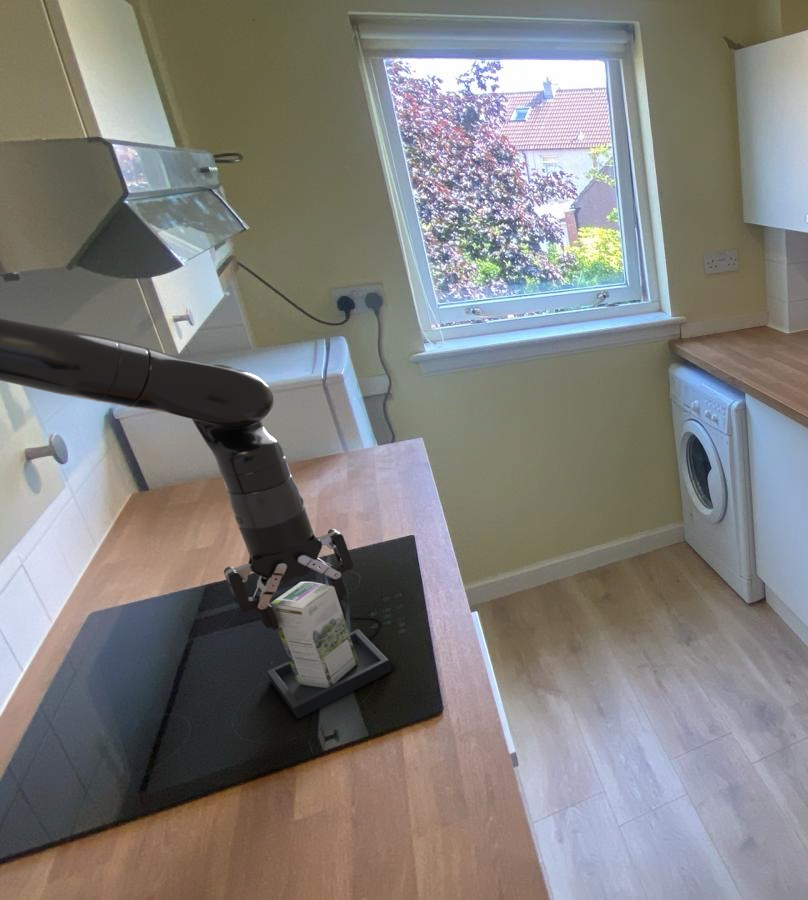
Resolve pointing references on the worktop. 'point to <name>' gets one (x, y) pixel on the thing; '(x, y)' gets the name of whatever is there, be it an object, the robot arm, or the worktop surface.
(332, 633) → the syrup box
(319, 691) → the tray
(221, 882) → the worktop surface
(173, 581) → the worktop surface
